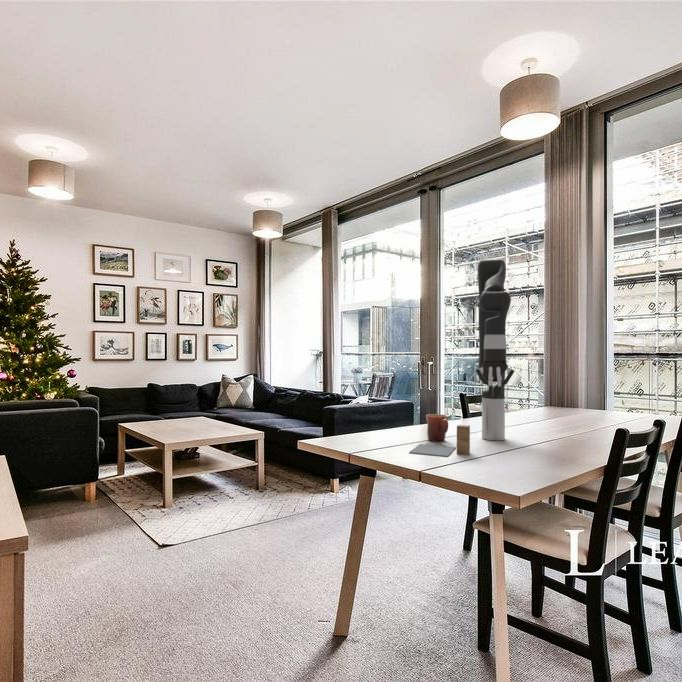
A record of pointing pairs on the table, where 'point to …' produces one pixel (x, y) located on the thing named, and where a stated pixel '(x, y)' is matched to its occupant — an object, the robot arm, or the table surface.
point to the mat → (433, 450)
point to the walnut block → (463, 439)
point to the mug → (436, 427)
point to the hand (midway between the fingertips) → (495, 396)
